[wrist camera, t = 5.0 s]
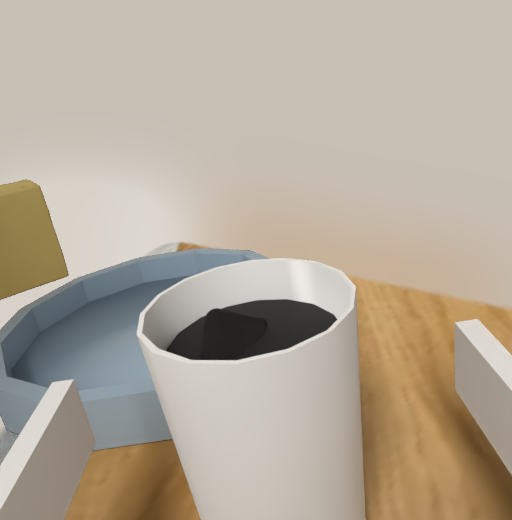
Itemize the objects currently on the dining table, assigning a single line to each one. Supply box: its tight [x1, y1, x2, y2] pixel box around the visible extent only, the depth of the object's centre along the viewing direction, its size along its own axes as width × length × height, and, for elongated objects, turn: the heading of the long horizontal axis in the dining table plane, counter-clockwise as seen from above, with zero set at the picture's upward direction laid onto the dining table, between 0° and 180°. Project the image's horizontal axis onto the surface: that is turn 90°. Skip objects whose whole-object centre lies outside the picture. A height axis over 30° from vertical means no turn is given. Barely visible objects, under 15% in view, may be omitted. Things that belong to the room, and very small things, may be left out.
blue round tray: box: [0, 248, 269, 451], centre depth 33 cm, size 20×20×3 cm
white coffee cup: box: [137, 258, 366, 520], centre depth 16 cm, size 7×7×10 cm
